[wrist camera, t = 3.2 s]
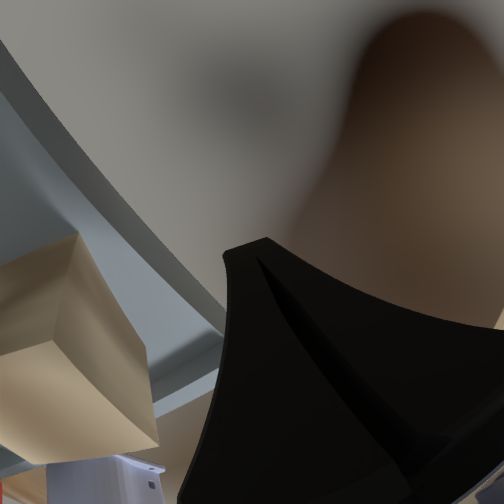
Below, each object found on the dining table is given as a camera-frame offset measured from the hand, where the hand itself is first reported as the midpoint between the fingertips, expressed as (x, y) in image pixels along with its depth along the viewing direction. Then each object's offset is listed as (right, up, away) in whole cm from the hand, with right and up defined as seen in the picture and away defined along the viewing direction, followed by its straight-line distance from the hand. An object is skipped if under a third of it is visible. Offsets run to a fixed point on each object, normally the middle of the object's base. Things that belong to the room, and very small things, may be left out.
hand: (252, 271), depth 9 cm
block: (-7, -2, 0) cm, 7 cm away
